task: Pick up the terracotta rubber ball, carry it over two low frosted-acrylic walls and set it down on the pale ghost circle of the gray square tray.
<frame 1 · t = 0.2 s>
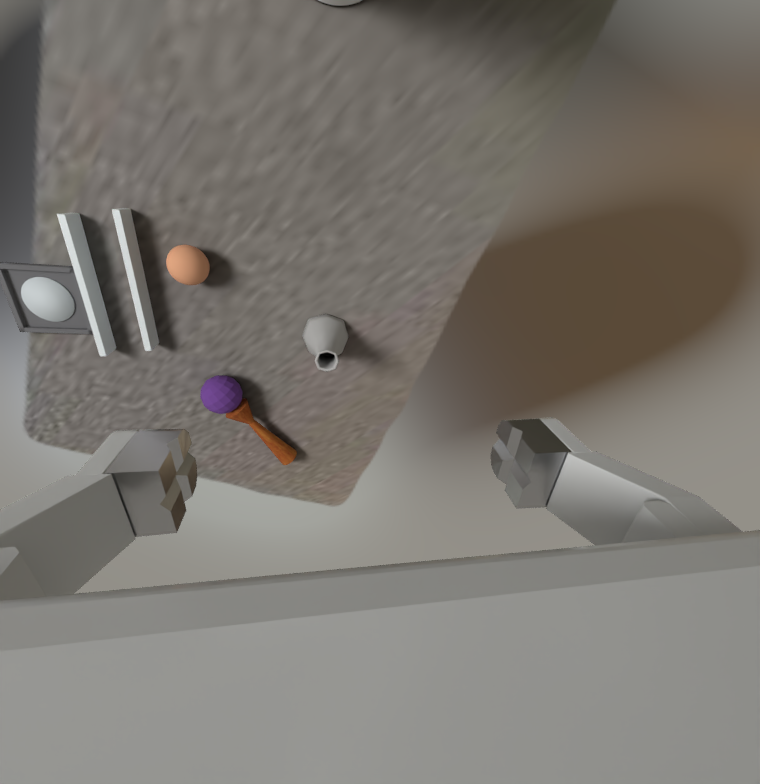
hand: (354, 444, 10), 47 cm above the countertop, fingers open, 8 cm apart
wall a: (142, 281, 50), on the countertop
purple and orange maraca: (254, 414, 63), on the countertop
flask: (325, 335, 58), on the countertop
ball: (194, 262, 50), on the countertop
gray square tray: (50, 298, 49), on the countertop
wall b: (96, 286, 49), on the countertop
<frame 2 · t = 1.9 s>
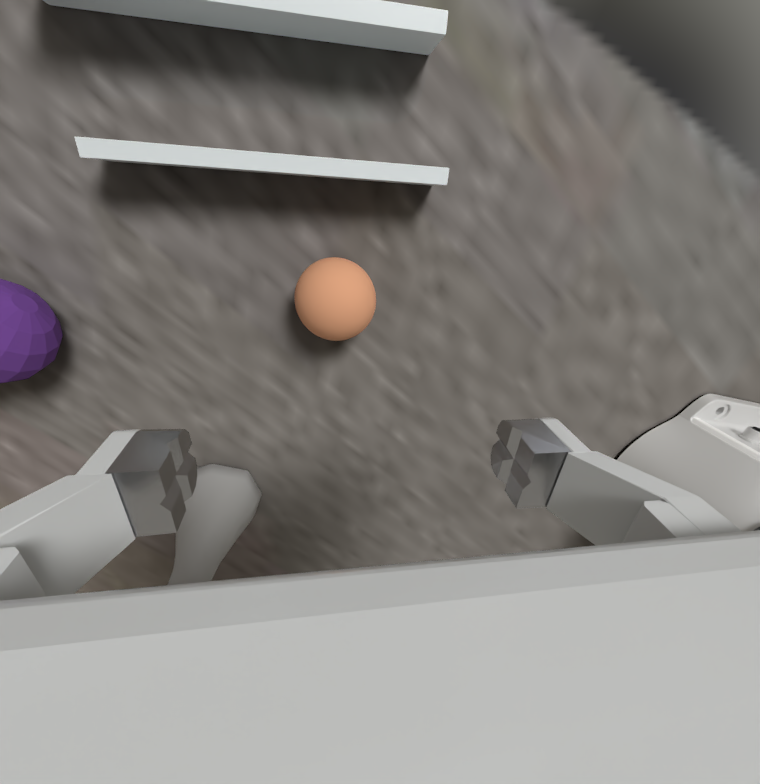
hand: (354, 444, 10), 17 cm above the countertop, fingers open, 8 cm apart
wall a: (282, 166, 21), on the countertop
flask: (220, 492, 32), on the countertop
ball: (334, 290, 25), on the countertop
wall b: (252, 21, 18), on the countertop
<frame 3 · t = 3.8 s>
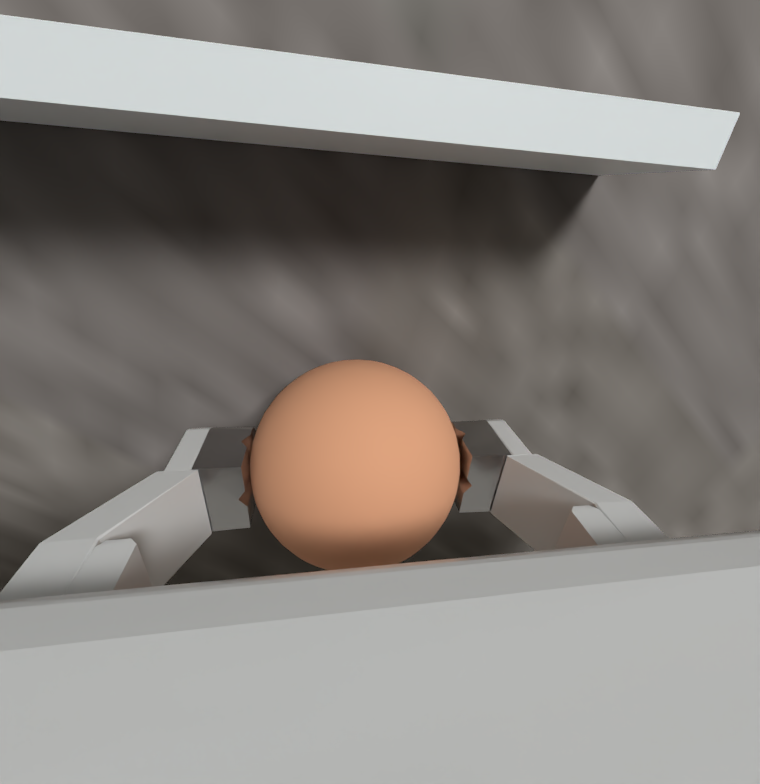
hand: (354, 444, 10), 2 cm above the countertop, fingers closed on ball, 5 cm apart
wall a: (209, 116, 7), on the countertop
ball: (350, 408, 11), on the countertop, touching gripper
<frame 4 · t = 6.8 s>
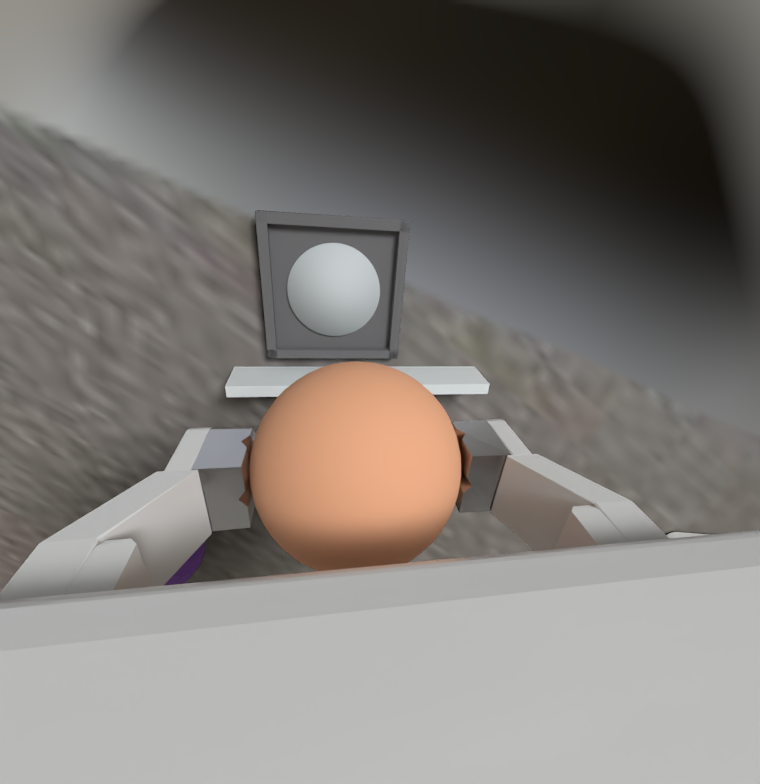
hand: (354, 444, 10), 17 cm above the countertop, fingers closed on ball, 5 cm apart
purple and orange maraca: (119, 556, 33), on the countertop
ball: (350, 410, 11), point 15 cm above the countertop, touching gripper
gray square tray: (334, 290, 24), on the countertop
wall b: (360, 371, 27), on the countertop
when the fingers open (3 cm above the countertop, at t = 9.6 s): ball drops 1 cm, resting on gray square tray.
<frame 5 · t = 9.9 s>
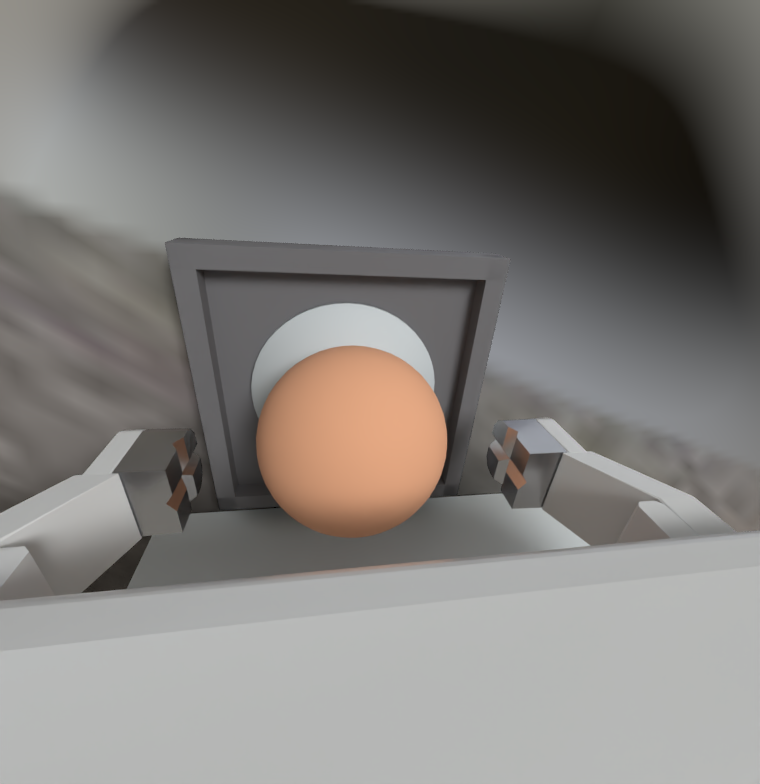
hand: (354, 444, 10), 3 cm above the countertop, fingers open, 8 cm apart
ball: (348, 394, 12), point 1 cm above the countertop, touching gray square tray
gray square tray: (345, 385, 12), on the countertop
wall b: (388, 507, 16), on the countertop
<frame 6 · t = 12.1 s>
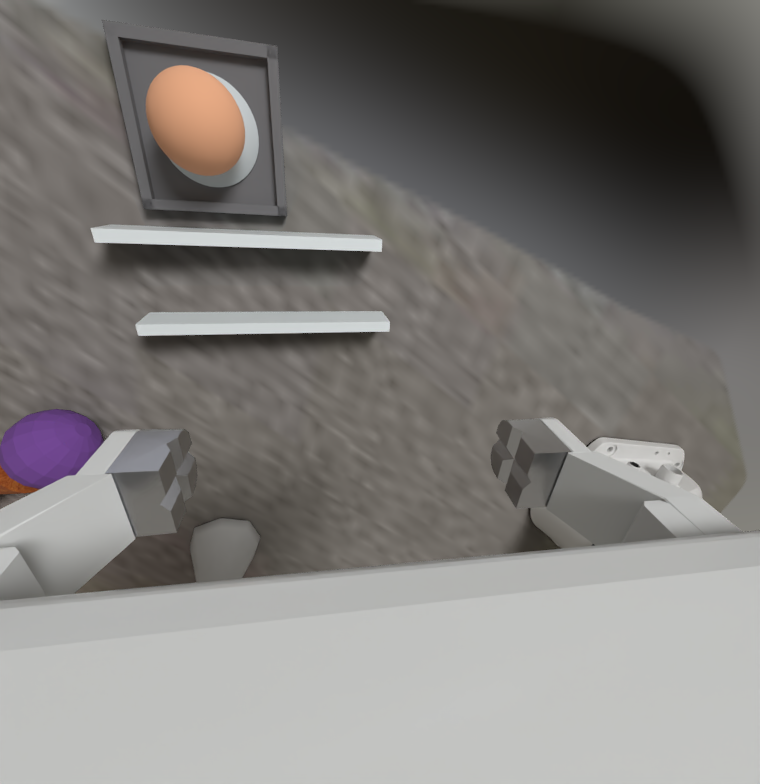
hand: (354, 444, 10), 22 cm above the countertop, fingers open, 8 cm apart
wall a: (273, 316, 29), on the countertop
purple and orange maraca: (12, 468, 31), on the countertop
flask: (226, 538, 40), on the countertop
ball: (209, 132, 23), point 1 cm above the countertop, touching gray square tray
gray square tray: (210, 133, 23), on the countertop
wall b: (253, 236, 26), on the countertop
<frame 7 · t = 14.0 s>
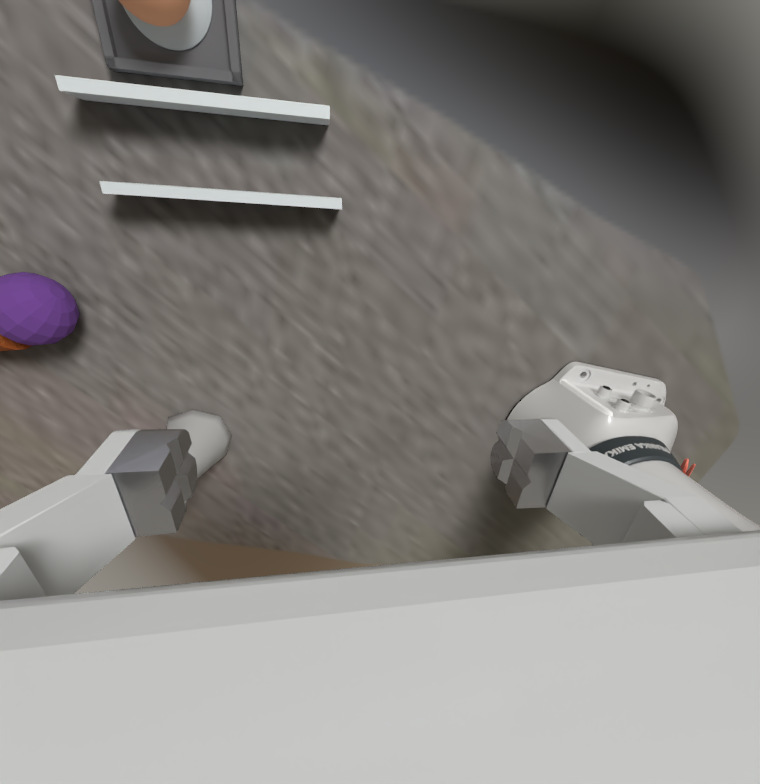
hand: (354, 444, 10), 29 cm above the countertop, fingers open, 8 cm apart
wall a: (235, 195, 31), on the countertop
purple and orange maraca: (0, 338, 34), on the countertop
flask: (199, 434, 42), on the countertop
wall b: (211, 107, 28), on the countertop
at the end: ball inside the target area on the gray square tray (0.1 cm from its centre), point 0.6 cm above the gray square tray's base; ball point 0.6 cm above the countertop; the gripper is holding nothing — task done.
